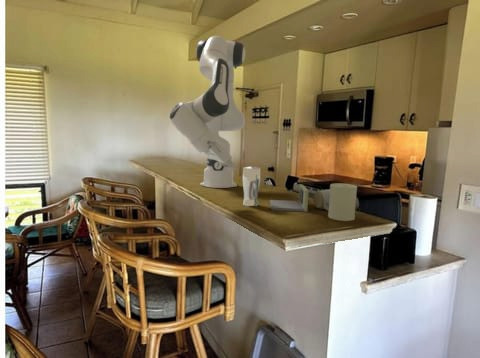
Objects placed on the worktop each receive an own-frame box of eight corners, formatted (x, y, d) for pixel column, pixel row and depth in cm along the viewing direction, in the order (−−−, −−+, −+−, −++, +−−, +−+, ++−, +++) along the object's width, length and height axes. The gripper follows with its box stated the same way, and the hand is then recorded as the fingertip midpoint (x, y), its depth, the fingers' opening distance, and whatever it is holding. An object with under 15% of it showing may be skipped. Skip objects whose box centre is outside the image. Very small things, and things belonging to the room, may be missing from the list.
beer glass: (244, 202, 143) (245, 166, 141) (261, 204, 141) (262, 167, 139) (239, 205, 136) (240, 167, 134) (256, 207, 134) (258, 169, 132)
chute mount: (269, 202, 144) (270, 183, 143) (301, 203, 144) (302, 184, 143) (272, 210, 131) (272, 189, 129) (307, 211, 130) (308, 190, 129)
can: (332, 220, 118) (335, 186, 117) (324, 214, 128) (326, 181, 126) (359, 221, 119) (362, 186, 117) (348, 214, 128) (351, 182, 126)
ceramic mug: (311, 206, 139) (312, 187, 137) (329, 205, 141) (330, 187, 140) (326, 213, 129) (328, 193, 128) (345, 212, 132) (346, 192, 130)
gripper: (218, 136, 119) (244, 164, 124) (205, 134, 139) (228, 158, 143) (205, 149, 119) (232, 177, 123) (193, 145, 138) (217, 169, 142)
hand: (229, 167), depth 133 cm, fingers open, 8 cm apart
